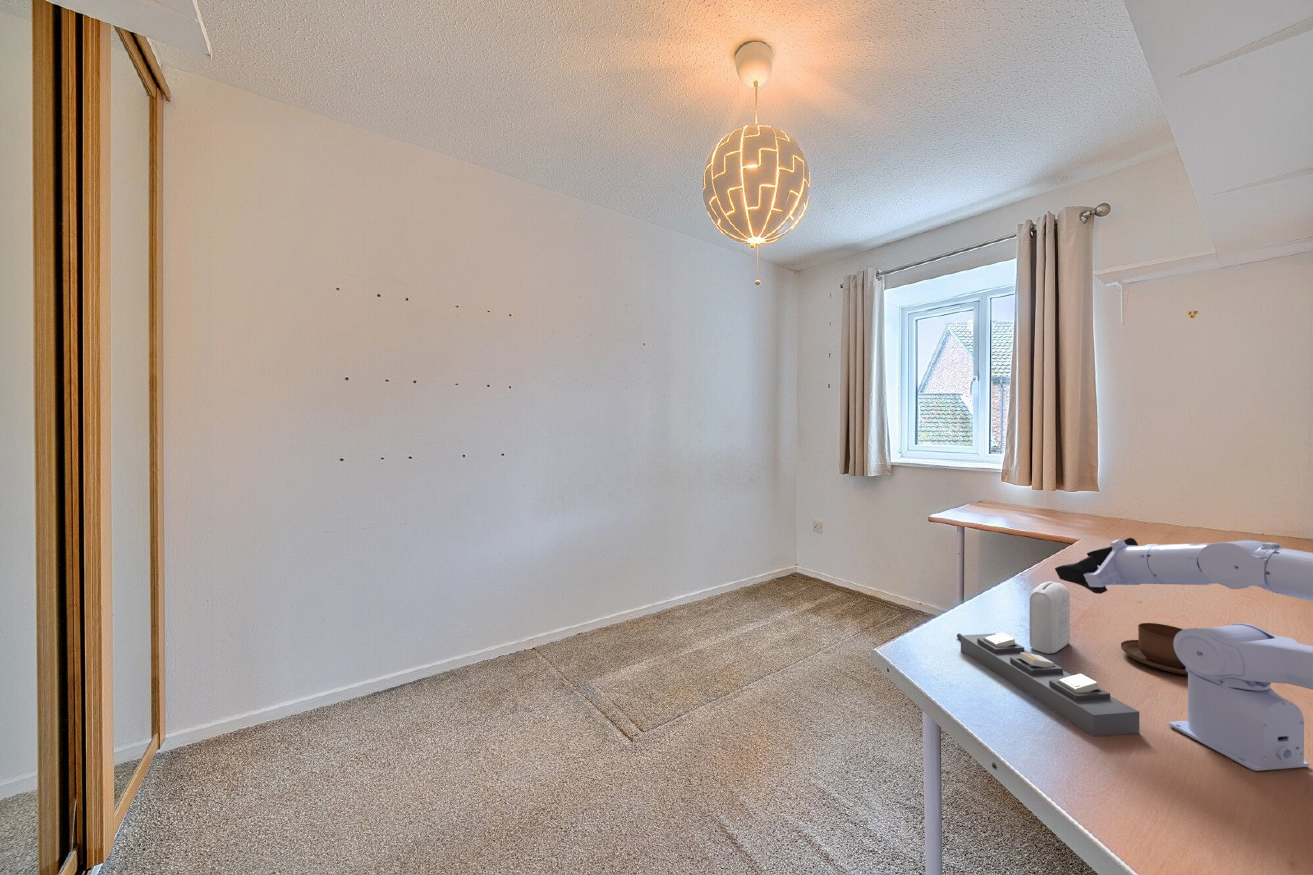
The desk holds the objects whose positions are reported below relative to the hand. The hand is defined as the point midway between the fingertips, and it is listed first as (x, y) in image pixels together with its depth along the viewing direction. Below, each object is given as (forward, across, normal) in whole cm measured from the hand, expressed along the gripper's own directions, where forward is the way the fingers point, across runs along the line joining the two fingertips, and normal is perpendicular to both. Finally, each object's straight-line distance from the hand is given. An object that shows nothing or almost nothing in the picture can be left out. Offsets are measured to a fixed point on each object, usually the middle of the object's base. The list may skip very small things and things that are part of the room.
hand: (1075, 565), depth 85 cm
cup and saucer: (+4, -12, +23) cm, 26 cm away
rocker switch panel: (+5, +16, +14) cm, 22 cm away
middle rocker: (+1, +15, +11) cm, 19 cm away
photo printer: (+13, 0, +16) cm, 21 cm away
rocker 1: (+8, +14, +9) cm, 19 cm away
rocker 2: (-6, +16, +13) cm, 22 cm away
